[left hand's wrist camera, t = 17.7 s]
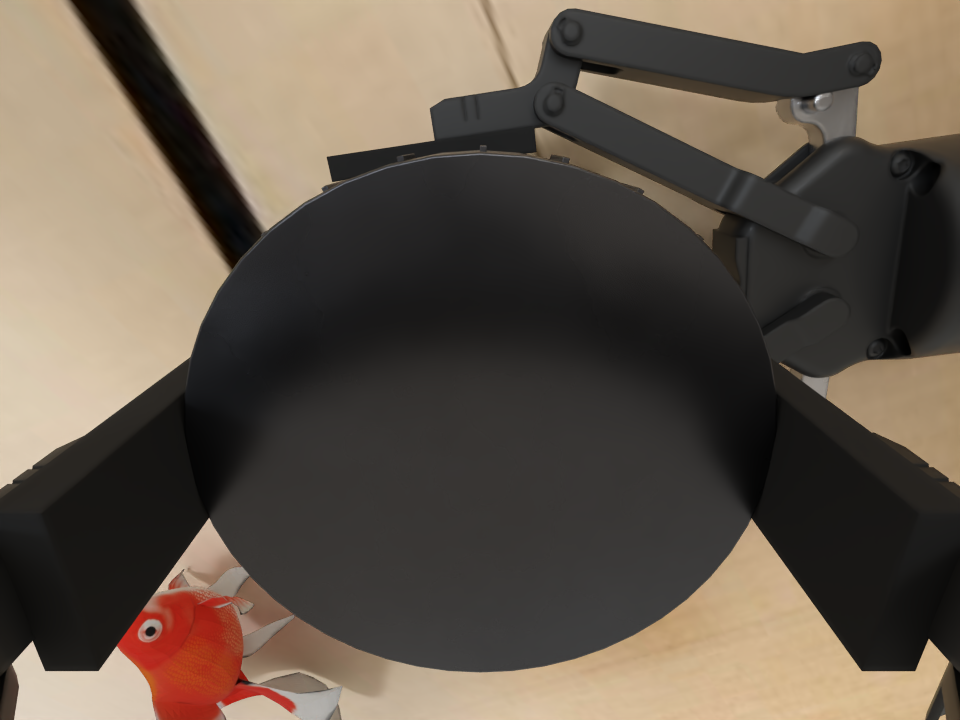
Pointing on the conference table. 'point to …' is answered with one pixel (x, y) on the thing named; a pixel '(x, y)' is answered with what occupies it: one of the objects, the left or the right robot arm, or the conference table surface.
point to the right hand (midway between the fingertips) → (373, 322)
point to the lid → (480, 411)
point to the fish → (212, 655)
